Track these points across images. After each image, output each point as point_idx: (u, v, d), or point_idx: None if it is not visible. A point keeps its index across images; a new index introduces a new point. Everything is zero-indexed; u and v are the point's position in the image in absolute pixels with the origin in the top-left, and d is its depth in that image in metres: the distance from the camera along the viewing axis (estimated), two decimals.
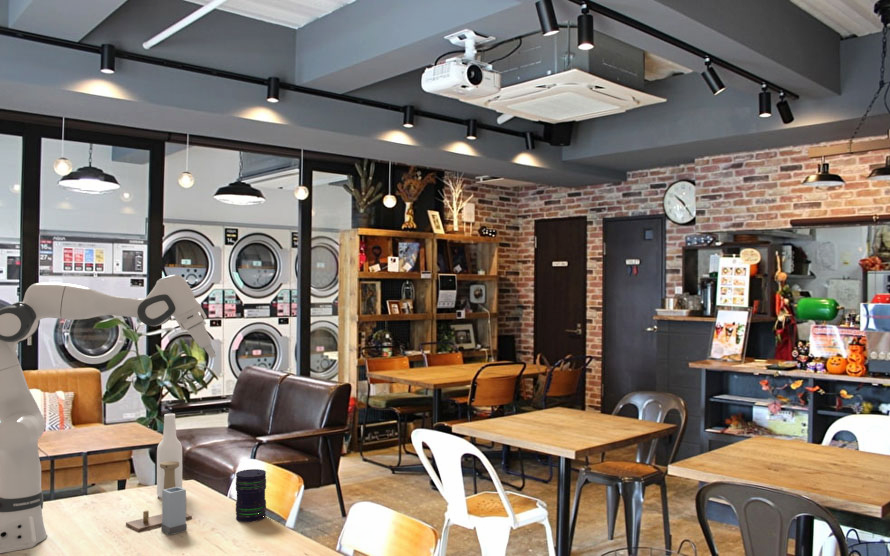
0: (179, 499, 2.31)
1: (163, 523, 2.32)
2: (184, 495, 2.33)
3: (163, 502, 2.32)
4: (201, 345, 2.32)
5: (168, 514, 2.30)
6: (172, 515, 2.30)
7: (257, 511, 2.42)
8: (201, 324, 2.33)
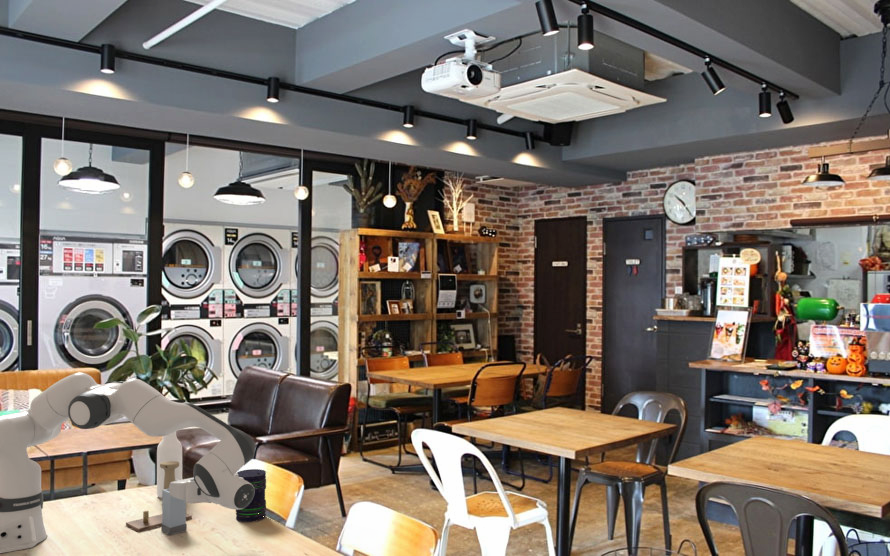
0: (179, 499, 2.31)
1: (163, 523, 2.32)
2: None
3: (163, 502, 2.32)
4: (169, 484, 2.14)
5: (168, 514, 2.30)
6: (172, 515, 2.30)
7: (257, 511, 2.42)
8: (183, 498, 2.11)
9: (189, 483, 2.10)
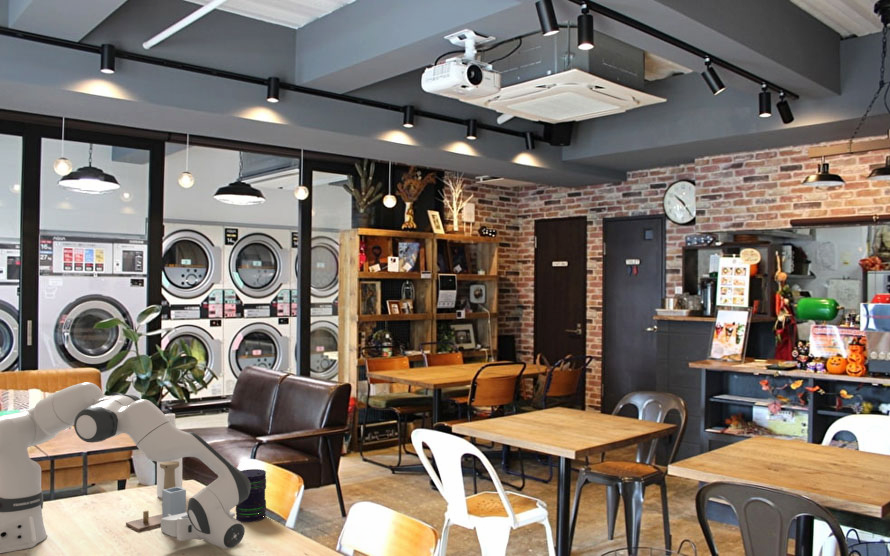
0: (179, 499, 2.31)
1: None
2: (184, 495, 2.33)
3: (163, 502, 2.32)
4: (161, 520, 2.17)
5: None
6: None
7: (257, 511, 2.42)
8: (174, 535, 2.14)
9: (180, 520, 2.12)
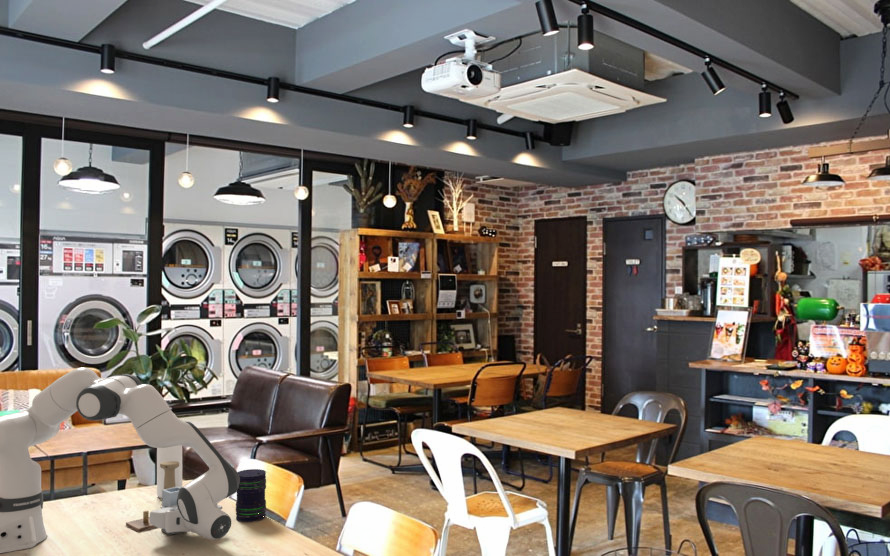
0: None
1: None
2: None
3: (163, 502, 2.32)
4: (150, 513, 2.22)
5: None
6: None
7: (257, 511, 2.42)
8: (162, 527, 2.19)
9: (168, 513, 2.18)
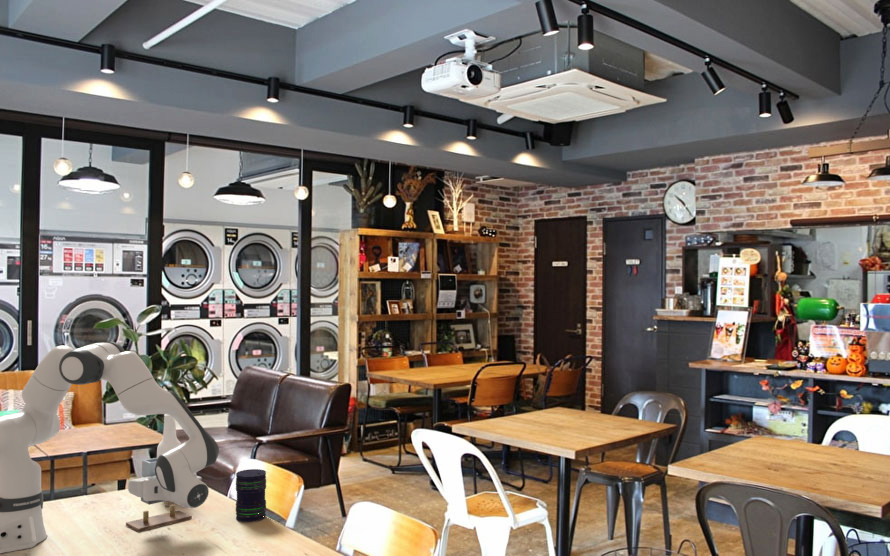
0: None
1: None
2: None
3: (143, 472, 2.34)
4: None
5: None
6: None
7: (258, 511, 2.42)
8: (140, 495, 2.21)
9: (146, 481, 2.19)
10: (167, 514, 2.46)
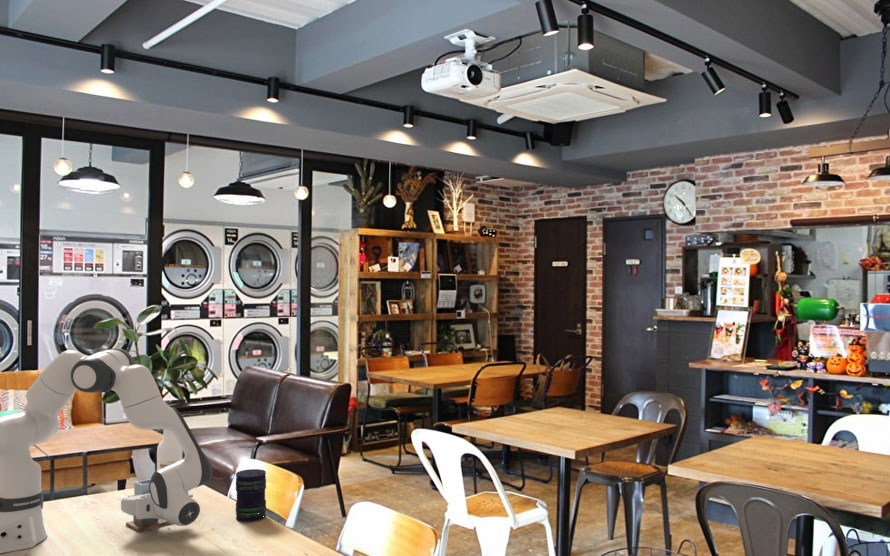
0: None
1: None
2: None
3: (135, 494, 2.38)
4: (121, 500, 2.28)
5: None
6: None
7: (258, 511, 2.42)
8: (133, 514, 2.25)
9: (138, 500, 2.23)
10: None
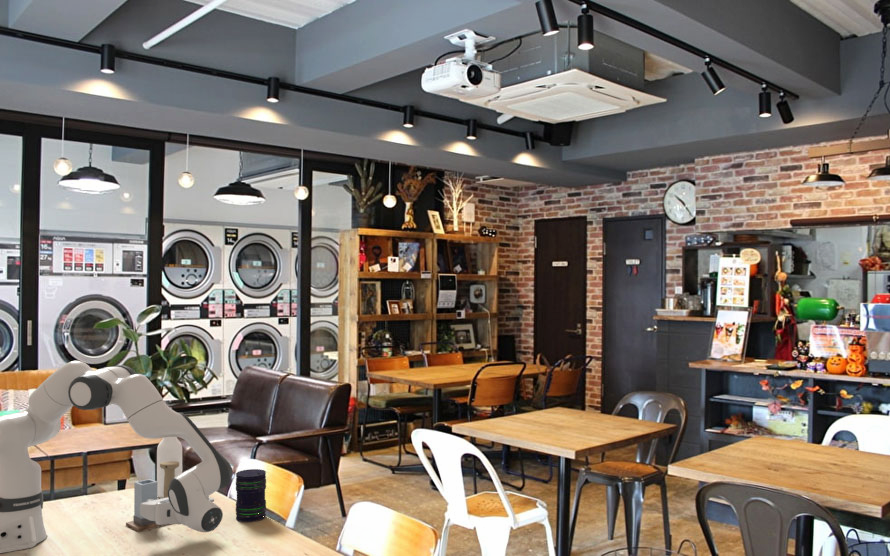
0: (151, 491, 2.37)
1: (135, 514, 2.38)
2: (156, 487, 2.38)
3: (135, 494, 2.38)
4: (140, 505, 2.19)
5: None
6: None
7: (258, 511, 2.42)
8: (152, 519, 2.16)
9: (159, 505, 2.15)
10: None
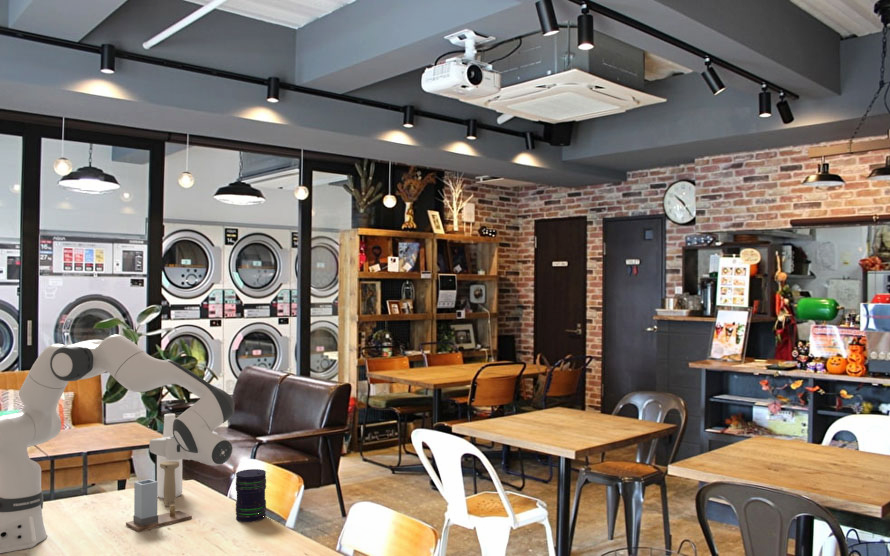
0: (151, 491, 2.37)
1: (135, 514, 2.38)
2: (156, 487, 2.38)
3: (135, 494, 2.38)
4: (150, 441, 2.18)
5: (140, 506, 2.35)
6: (143, 507, 2.35)
7: (258, 511, 2.42)
8: (162, 454, 2.15)
9: (168, 440, 2.14)
10: (167, 514, 2.46)
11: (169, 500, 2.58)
